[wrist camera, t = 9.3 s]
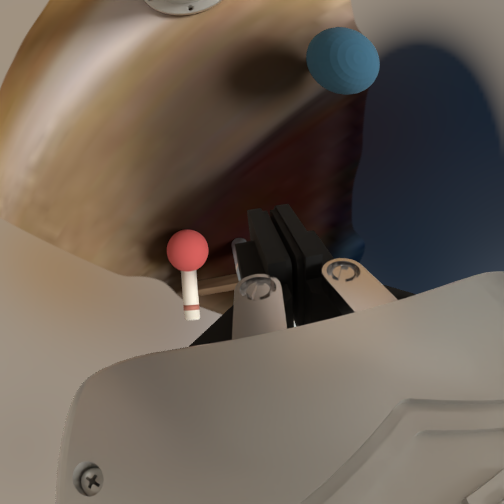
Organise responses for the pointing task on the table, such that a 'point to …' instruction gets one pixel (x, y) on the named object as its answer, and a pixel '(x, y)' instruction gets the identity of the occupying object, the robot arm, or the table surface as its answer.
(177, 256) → the ball
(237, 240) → the slate-blue pin
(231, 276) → the backstop
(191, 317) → the ivory pin
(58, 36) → the table surface
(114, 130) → the table surface
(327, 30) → the blue ovoid piece
